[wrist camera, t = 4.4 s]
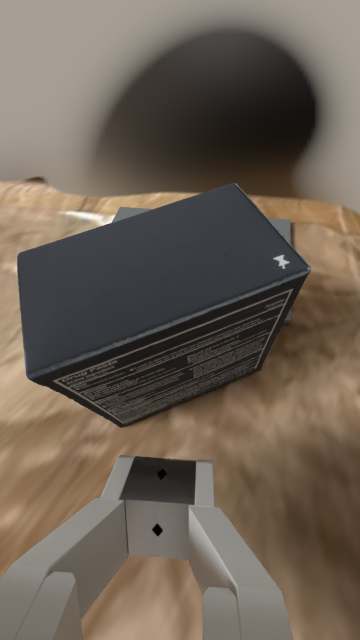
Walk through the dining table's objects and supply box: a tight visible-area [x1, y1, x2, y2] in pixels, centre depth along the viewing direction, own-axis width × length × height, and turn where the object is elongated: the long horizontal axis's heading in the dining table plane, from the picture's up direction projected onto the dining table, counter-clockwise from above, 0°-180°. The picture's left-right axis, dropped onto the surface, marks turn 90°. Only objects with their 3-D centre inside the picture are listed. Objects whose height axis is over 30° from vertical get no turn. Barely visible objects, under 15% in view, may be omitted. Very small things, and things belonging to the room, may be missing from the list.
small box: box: [17, 183, 311, 428], centre depth 15 cm, size 11×6×10 cm, turn 111°
